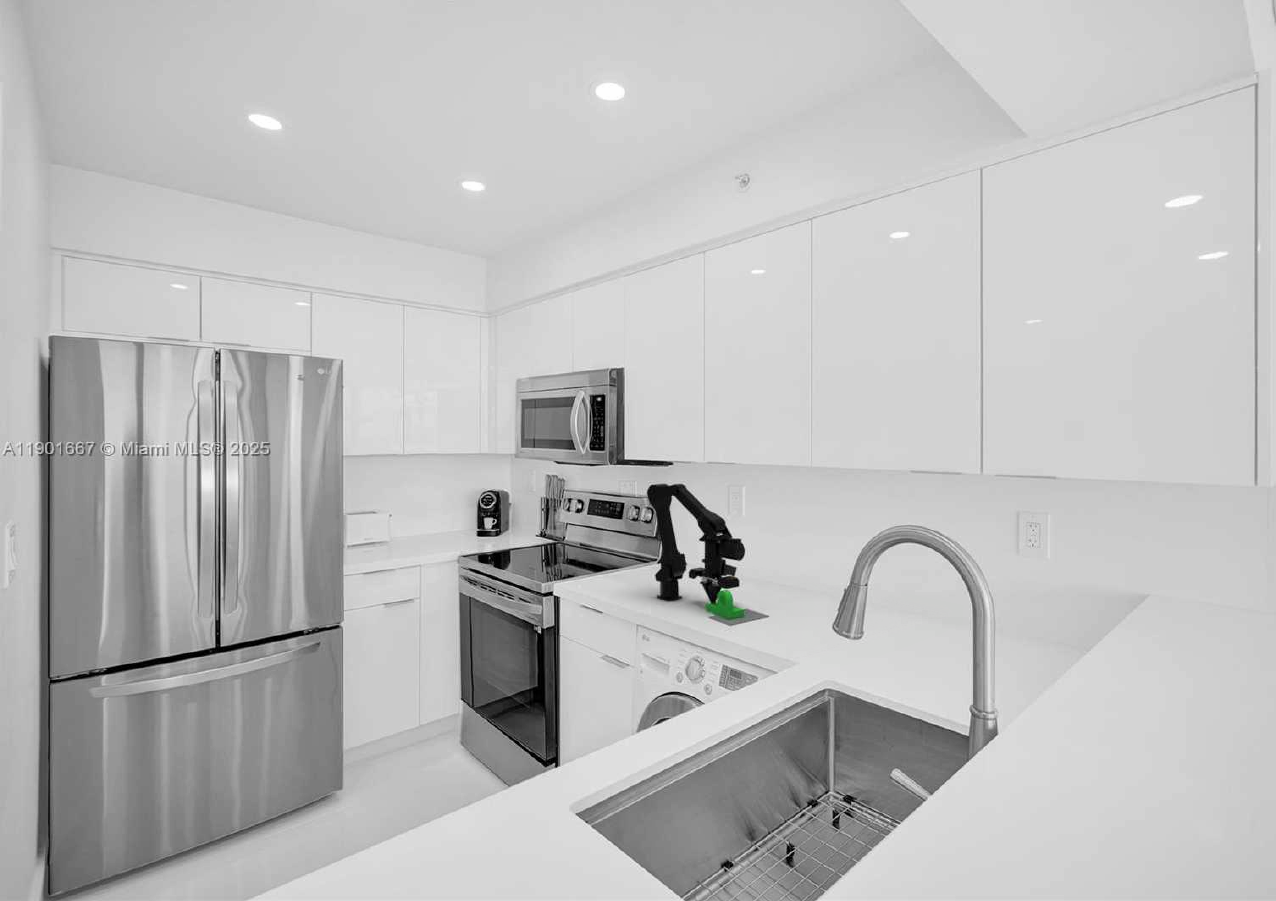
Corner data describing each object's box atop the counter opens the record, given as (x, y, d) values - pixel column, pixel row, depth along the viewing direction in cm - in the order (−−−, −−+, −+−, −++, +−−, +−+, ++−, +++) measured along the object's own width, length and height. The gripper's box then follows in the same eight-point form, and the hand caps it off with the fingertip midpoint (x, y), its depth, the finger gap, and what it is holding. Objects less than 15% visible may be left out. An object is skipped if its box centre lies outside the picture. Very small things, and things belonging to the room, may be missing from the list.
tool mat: (708, 617, 190) (708, 616, 190) (746, 609, 199) (746, 608, 199) (730, 625, 182) (730, 625, 182) (769, 616, 191) (769, 615, 191)
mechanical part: (744, 616, 190) (743, 590, 190) (728, 619, 187) (727, 592, 187) (721, 607, 200) (720, 583, 200) (706, 610, 198) (705, 585, 198)
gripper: (752, 558, 196) (751, 607, 197) (713, 548, 212) (712, 594, 212) (726, 562, 190) (725, 612, 191) (687, 552, 206) (687, 599, 206)
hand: (713, 604), depth 200 cm, fingers closed
